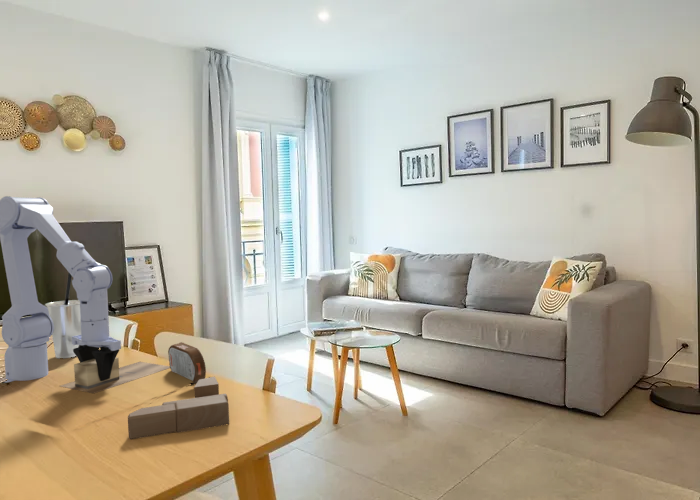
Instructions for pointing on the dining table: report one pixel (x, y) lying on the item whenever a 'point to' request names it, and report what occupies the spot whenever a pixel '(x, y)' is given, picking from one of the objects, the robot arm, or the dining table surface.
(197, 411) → the wooden block set
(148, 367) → the plank
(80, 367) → the block
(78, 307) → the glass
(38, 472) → the dining table surface
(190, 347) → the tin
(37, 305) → the robot arm
